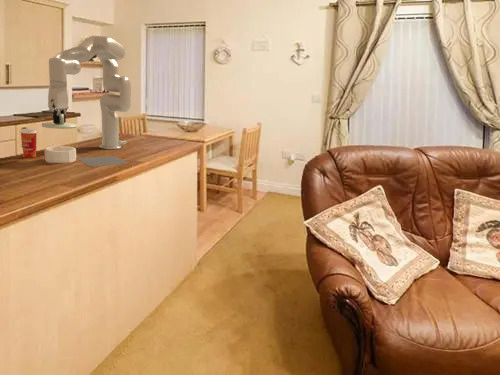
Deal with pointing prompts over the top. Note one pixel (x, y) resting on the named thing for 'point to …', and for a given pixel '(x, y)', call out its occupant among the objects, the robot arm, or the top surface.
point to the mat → (102, 161)
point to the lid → (59, 126)
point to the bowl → (60, 154)
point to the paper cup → (29, 142)
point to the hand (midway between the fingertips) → (59, 122)
